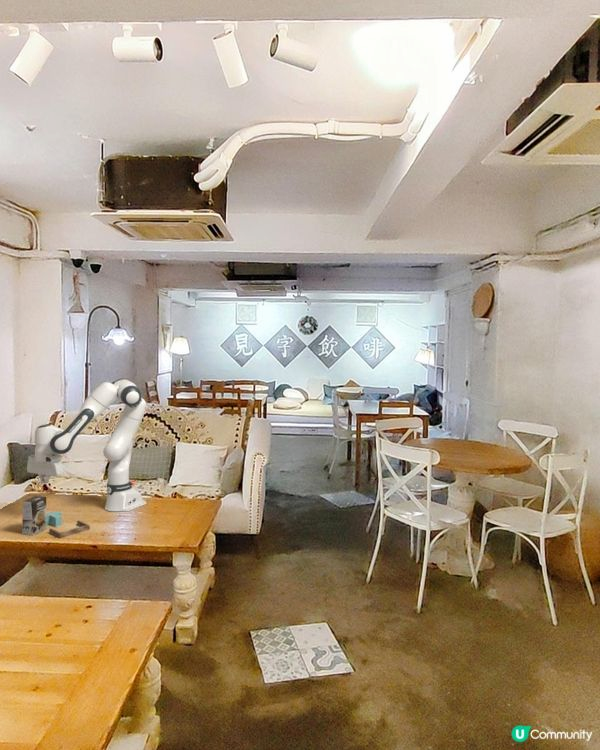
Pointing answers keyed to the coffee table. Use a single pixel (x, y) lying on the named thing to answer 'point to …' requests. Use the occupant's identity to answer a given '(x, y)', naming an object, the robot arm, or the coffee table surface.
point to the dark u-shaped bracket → (70, 532)
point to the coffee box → (34, 515)
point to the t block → (54, 518)
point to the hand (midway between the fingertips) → (44, 482)
